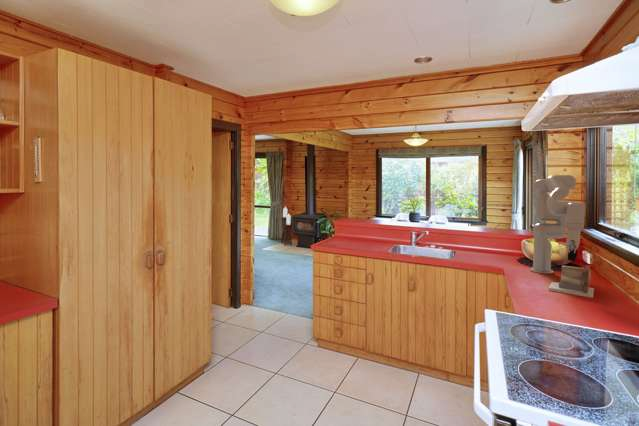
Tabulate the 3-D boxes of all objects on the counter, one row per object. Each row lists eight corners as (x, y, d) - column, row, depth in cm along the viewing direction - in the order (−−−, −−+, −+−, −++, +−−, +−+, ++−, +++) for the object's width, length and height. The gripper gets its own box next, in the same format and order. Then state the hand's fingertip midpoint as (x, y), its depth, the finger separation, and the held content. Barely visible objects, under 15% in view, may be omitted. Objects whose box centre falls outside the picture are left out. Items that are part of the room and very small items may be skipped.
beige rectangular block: (561, 285, 176) (562, 265, 175) (582, 288, 170) (583, 268, 169) (560, 286, 174) (561, 266, 173) (582, 290, 168) (583, 269, 167)
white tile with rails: (551, 284, 183) (552, 277, 183) (593, 291, 171) (594, 283, 171) (548, 290, 173) (548, 282, 172) (592, 297, 161) (593, 289, 160)
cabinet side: (581, 286, 174) (582, 264, 173) (588, 287, 172) (589, 265, 171) (579, 292, 165) (580, 268, 164) (587, 293, 163) (588, 269, 162)
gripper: (567, 224, 178) (565, 254, 180) (563, 227, 166) (561, 260, 167) (584, 225, 173) (582, 256, 175) (582, 228, 161) (580, 263, 162)
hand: (572, 258), depth 171 cm, fingers open, 9 cm apart
